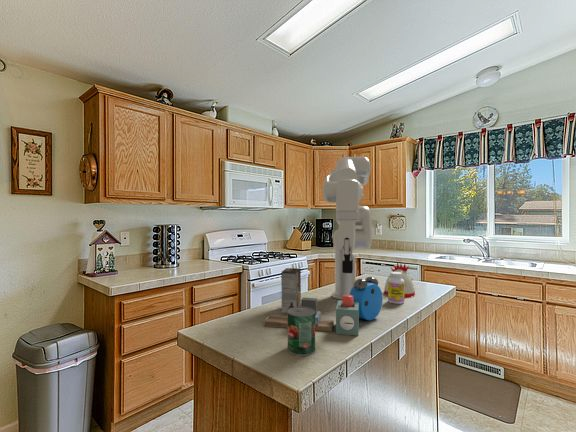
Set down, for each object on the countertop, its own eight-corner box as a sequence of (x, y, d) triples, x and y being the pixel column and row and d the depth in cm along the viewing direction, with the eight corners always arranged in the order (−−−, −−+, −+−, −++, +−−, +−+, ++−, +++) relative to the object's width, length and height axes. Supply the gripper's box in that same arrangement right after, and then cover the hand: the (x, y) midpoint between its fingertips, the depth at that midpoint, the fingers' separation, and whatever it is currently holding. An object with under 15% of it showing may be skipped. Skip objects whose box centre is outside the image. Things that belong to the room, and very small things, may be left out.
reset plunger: (342, 309, 105) (342, 294, 105) (353, 309, 104) (353, 295, 104) (341, 312, 101) (341, 297, 101) (353, 313, 101) (353, 297, 101)
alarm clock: (369, 313, 120) (369, 274, 120) (383, 317, 115) (383, 276, 115) (347, 320, 111) (347, 278, 111) (361, 325, 106) (361, 281, 106)
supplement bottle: (388, 303, 132) (388, 273, 132) (387, 299, 138) (387, 271, 138) (405, 304, 130) (405, 274, 130) (403, 300, 137) (403, 271, 137)
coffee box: (286, 306, 129) (285, 267, 129) (301, 307, 128) (301, 268, 128) (281, 313, 120) (281, 271, 120) (297, 314, 119) (297, 272, 119)
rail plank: (270, 319, 113) (270, 315, 113) (333, 324, 107) (333, 319, 107) (264, 325, 106) (264, 321, 106) (331, 331, 101) (331, 326, 101)
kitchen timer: (415, 298, 140) (415, 265, 140) (384, 296, 145) (384, 264, 145) (413, 291, 154) (413, 261, 154) (384, 289, 158) (384, 260, 158)
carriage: (301, 316, 111) (301, 295, 111) (320, 317, 109) (320, 296, 109) (296, 323, 103) (296, 301, 103) (317, 325, 101) (317, 302, 101)
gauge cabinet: (338, 323, 108) (338, 300, 108) (358, 324, 107) (358, 301, 107) (335, 334, 98) (335, 309, 98) (358, 336, 97) (358, 310, 97)
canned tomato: (321, 349, 87) (321, 310, 87) (301, 358, 82) (301, 317, 82) (301, 341, 93) (301, 305, 93) (281, 349, 87) (281, 310, 87)
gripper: (338, 216, 111) (338, 267, 112) (333, 217, 96) (334, 276, 96) (359, 216, 110) (359, 268, 110) (358, 216, 94) (358, 277, 94)
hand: (347, 271), depth 103 cm, fingers open, 3 cm apart
